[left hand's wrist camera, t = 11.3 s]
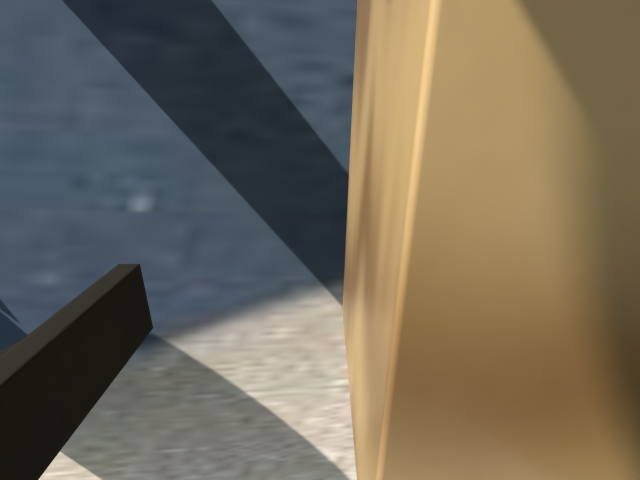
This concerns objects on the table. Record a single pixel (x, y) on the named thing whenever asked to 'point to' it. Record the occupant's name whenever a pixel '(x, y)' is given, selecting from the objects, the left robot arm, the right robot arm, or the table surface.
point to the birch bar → (494, 240)
